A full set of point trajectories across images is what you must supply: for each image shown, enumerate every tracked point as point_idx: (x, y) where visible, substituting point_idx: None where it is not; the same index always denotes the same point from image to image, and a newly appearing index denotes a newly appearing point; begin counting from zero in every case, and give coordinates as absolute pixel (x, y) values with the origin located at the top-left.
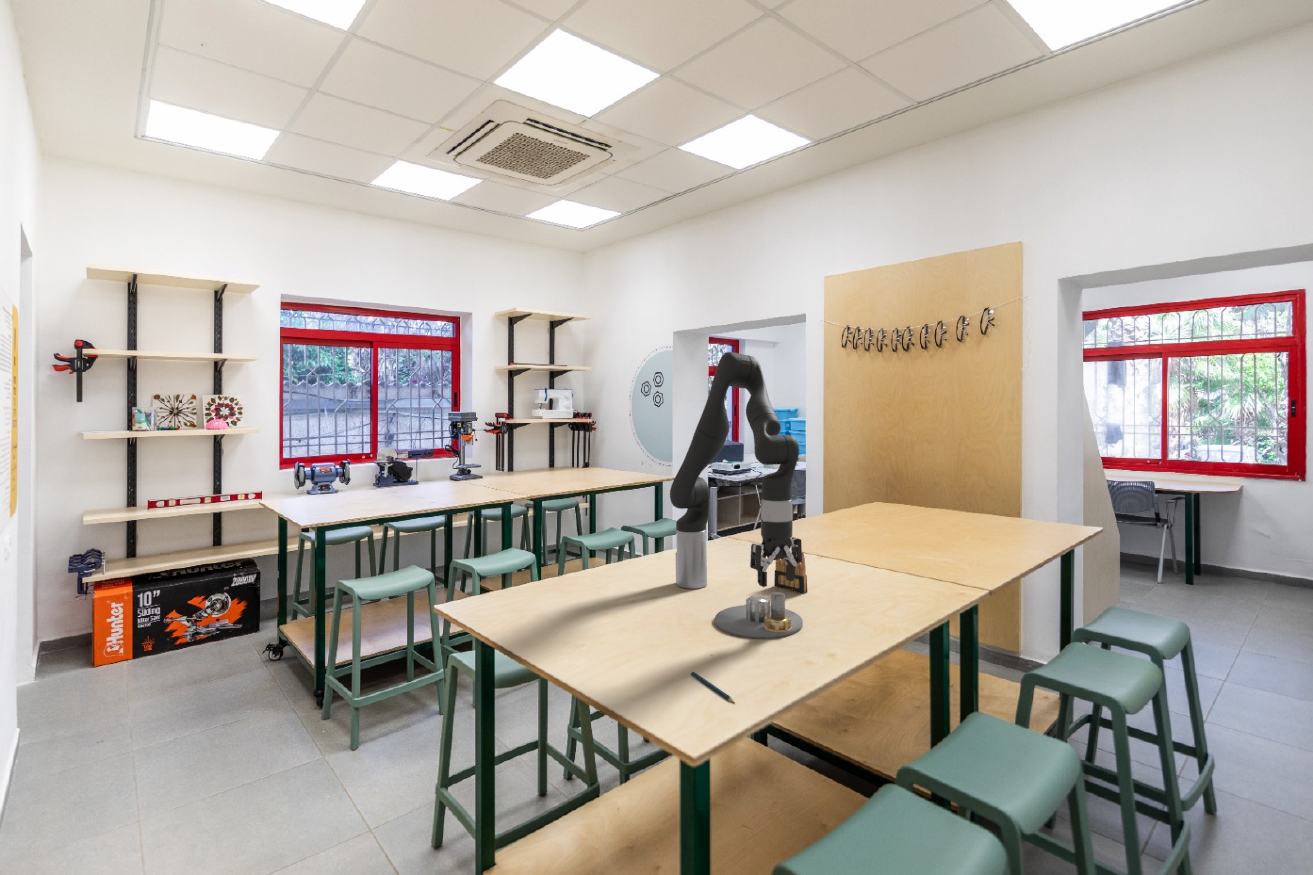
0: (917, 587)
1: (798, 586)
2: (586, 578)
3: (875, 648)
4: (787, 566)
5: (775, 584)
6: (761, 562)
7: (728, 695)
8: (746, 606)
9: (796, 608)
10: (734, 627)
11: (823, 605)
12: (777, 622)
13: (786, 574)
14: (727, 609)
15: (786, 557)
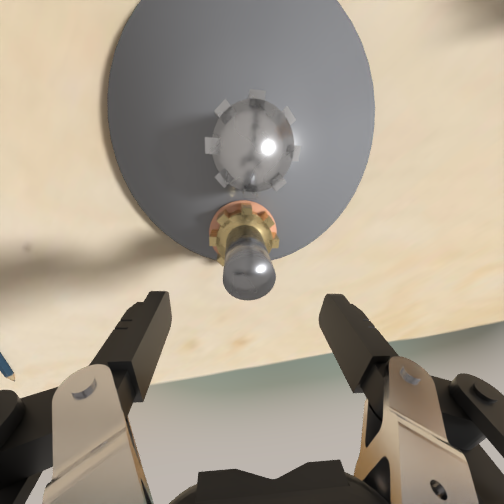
0: None
1: None
2: None
3: (309, 353)
4: (363, 360)
5: None
6: (87, 451)
7: (5, 373)
8: (217, 117)
9: (417, 129)
10: (142, 165)
11: (478, 162)
12: (222, 263)
13: (339, 310)
14: None
15: (368, 479)
